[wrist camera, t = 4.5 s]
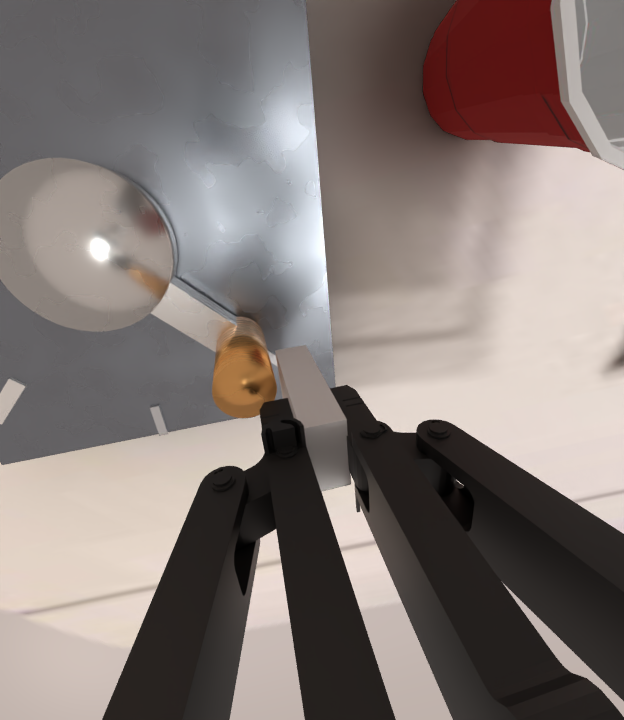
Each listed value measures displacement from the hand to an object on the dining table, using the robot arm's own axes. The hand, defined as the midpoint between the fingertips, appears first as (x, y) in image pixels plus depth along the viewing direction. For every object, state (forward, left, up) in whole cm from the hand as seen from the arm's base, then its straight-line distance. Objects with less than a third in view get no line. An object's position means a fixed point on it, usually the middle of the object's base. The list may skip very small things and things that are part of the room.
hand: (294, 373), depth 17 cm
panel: (-7, -7, -6) cm, 11 cm away
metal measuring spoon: (-4, -6, -4) cm, 8 cm away
